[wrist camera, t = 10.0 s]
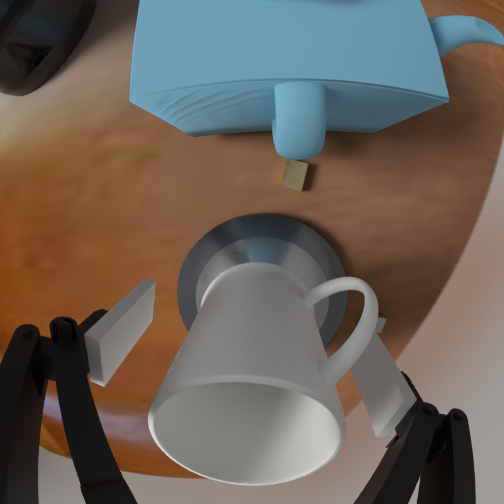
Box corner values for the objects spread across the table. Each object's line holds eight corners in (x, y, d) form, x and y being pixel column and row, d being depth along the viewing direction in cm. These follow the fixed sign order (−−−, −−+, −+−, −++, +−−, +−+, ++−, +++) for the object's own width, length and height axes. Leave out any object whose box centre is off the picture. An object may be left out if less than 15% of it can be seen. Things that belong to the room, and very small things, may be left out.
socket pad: (208, 142, 19) (204, 140, 18) (420, 202, 19) (427, 203, 18) (170, 375, 24) (166, 382, 23) (337, 407, 24) (338, 414, 23)
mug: (311, 210, 18) (379, 256, 7) (368, 303, 20) (443, 410, 8) (179, 301, 21) (105, 410, 9) (245, 375, 22) (229, 497, 10)
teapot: (200, 175, 19) (98, 166, 7) (198, 6, 16) (150, -93, 3) (428, 175, 18) (555, 183, 6) (401, 15, 14) (468, -57, 2)
